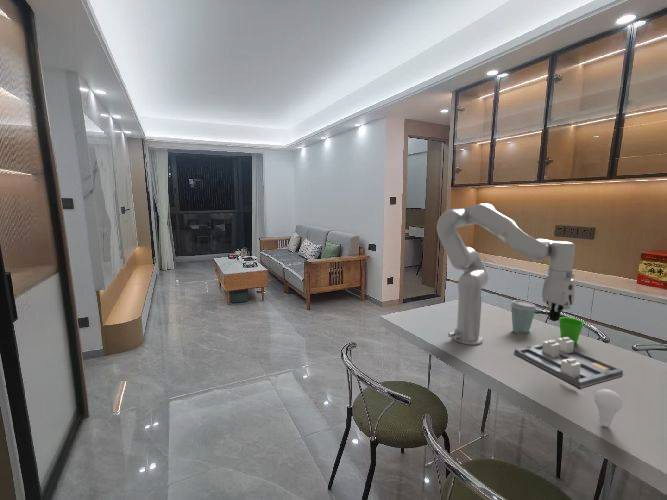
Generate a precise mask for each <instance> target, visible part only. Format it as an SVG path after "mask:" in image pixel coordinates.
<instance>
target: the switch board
mask: <svg viewBox="0 0 667 500" xmlns="http://www.w3.org/2000/svg"><path fill="white" fill-rule="evenodd" d="M542 349H543V343H539V344H534V345H529V346H524V347H521V348H516V349H514V354H513V355H514V356H515V357H516V358H519V359H521V360H522V361H524V362H527V363H529V364H531V365H532V366H534V367H536V368H538V369H540V370H541V371H544V372H546V373H548V374H549V375H551V376H553V377H555V378H557V379H559V380H561V381H563V382H565V383H567V384H569V385H570V386H573V388H574V387H575V388H576V389H578V390H582V389H586V388H589V387H592V386H595V385H601V384H602V383H606V382H610V381H612V380H617V379H620V378H622V377H623V375H622V374H623V372H624V371H623V370H622V369H620V368H618V367H615V366H613V365H611V364H608V363H606V362H603V361H601V360H600V359H596V358H595V357H591V356H589V355H587V354H585V353H582V352H580V351H577V350H575V349H573V352H572V353H568V354H567V353H565V352H563V351H561V350H559V356H555V357H552V356H550V355H548V354H546V353H544V352H542ZM569 358H570V359H572V358H573V359H575V360H576V362H579V363H581V367H580V375H579V376H578V377H575V378H572V377H570V376H568V375H566V374H564V373H562V372H560V370H561V361H562V360H565V359H569ZM618 375H620V376H618ZM613 376H617V377H613ZM611 377H613V378H611ZM607 378H609V379H607ZM603 379H606V380H603ZM601 380H603V381H601ZM596 381H597V382H596ZM598 381H599V382H598ZM594 382H595V383H594ZM589 383H592V384H589ZM586 384H589V385H586ZM582 385H586V386H582Z"/></svg>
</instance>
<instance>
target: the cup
mask: <svg viewBox="0 0 667 500" xmlns="http://www.w3.org/2000/svg"><path fill="white" fill-rule="evenodd" d="M558 322H559V329H560V331H559V332H560V338H563V337H569V338H570V340H573V341H574V345H577V344H578V340H579V337H580V334H581V332H582V328H583V326H584V325H585V322H584V321H583V320H581V319H577V318H574V317H567V316H560V318H559V320H558Z"/></svg>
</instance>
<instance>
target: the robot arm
mask: <svg viewBox="0 0 667 500" xmlns="http://www.w3.org/2000/svg"><path fill="white" fill-rule="evenodd" d="M474 225H478V226H480V227H482V228H483V229H485V230H486V231H488V232H489V233H491V234H493V235H494V236H496V237H497V238H499V239H500V240H501V241H502V242H503V243H505V244H506V245H507V246H508V247H509V248H511V249H512V250H513V251H516V253H519V254H521V255H522V256H523V257H525V258H527V259H529V260H531V261H534V262H535V261H537V262H538V261H542V260H544V259H545V258H548V259H549V261H548V269H547V271H548V272H547V275H545V277H544V282H543V286H542V289H541V291H542V292H541V298H542V302H544V303H545V304H546V305H547V306H548V310H549V318H548V320H549V321H552V322H556V321H557V322H559V318H561V312H562V311H563V310H567V311H568V310H571V306H573V305H574V301H575V293H576V292H575V281H574V278H575V274H574V273H573V269H574V260H575V255H576V253H575V252H576V245H575V243H574V242H571V241H565V240H563V241H562V240H550V239H545V238H534V237H533V236H531V235H529V234H528V233H526V232H524V231H523V230H522V229H521V228H519V226H518V225H517V223H516V222H515V221H514V220H513V219H511V218H509V217H508V216H506V215H505V214H502V213H501V212H499V211H497V210H496V208H495V206H493V204H491V203H488V202H483V203H477V204H475V205H472V206H467V207H461V208H451V209H448V210H446V211H444V212H443V213H442V214H441V215H440V216H439V218H438V220H437V221H436V232H437V236H438V238H439V240H440V242H441V244H442V247H443V248H444V251H445V253H446V255H447V257H448V260H449V263H450V264H451V265H452V268H454V269H456V270H458V271H461V270H462V271H463V273H462V274H461V275H460V277H459V279H458V281H457V289H458V291H457V292H458V304H457V307H458V308H457V321H456V322H457V323H456V328H455V329H454V331H452V332H448V333H447V336H448V337H449V338H452V339H453V340H455V341H456V342H458V343H461V344H464V345H469V346H470V345H471V346H476V345H480V344H482V343H483V341H484V340H483V339H484V337H482V336H481V335H480V331H481V329H480V328H481V317H482V316H481V315H482V289H483V288H484V287H486V285H487V284H488V282H489V275H488V272H487V269H486V268H485V266H484V265H485V264H483V262H482V260H481V258H480V255H479V253H478V252H477V251H476V250H475V248H472V247H470V246H466V245H465V243H464V242H463V239H462V237H461V235H460V234H459V232H458V230H457V228H461V227H466V226H474Z"/></svg>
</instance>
